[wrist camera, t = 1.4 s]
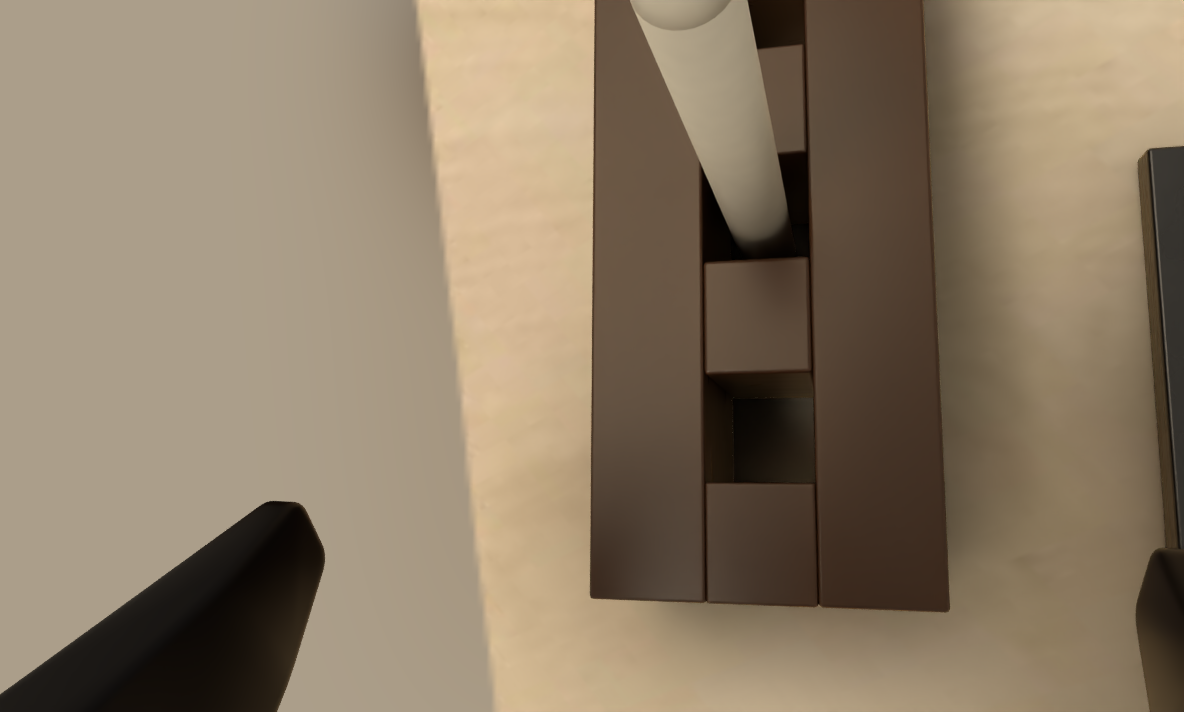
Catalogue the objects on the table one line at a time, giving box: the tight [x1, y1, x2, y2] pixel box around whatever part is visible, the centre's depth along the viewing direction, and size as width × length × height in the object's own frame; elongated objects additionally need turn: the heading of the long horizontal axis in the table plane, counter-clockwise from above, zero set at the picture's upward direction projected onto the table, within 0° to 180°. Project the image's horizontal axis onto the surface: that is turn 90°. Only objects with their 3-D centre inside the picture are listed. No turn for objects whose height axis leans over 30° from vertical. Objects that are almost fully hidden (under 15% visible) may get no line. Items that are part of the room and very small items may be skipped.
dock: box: [590, 0, 950, 613], centre depth 20 cm, size 6×15×5 cm, turn 0°
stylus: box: [630, 0, 797, 260], centre depth 16 cm, size 1×1×14 cm
